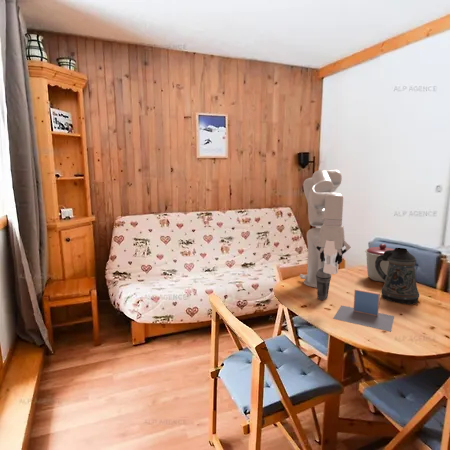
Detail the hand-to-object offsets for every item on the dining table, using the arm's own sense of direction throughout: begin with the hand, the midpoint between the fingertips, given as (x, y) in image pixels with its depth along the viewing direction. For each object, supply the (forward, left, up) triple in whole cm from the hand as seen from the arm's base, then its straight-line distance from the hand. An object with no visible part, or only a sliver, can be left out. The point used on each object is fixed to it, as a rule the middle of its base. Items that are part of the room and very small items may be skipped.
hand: (330, 261), depth 143 cm
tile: (+15, +3, -22) cm, 27 cm away
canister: (+15, +57, -23) cm, 63 cm away
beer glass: (0, 0, -5) cm, 5 cm away
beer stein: (+25, +30, -23) cm, 45 cm away
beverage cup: (-6, +11, -23) cm, 26 cm away
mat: (+15, -2, -22) cm, 27 cm away
